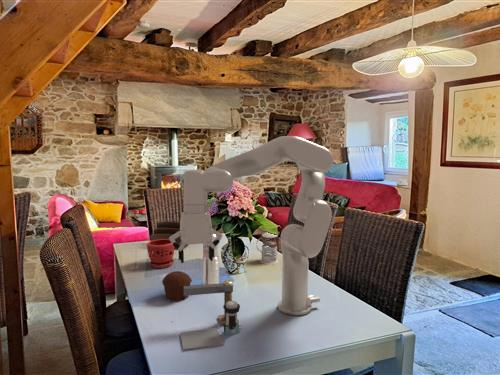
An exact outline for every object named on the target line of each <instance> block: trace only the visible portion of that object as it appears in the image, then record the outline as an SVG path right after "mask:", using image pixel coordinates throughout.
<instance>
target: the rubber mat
mask: <svg viewBox="0 0 500 375" xmlns="http://www.w3.org/2000/svg"><path fill="white" fill-rule="evenodd" d="M220 334H221V333H220V332H219V330H218V328H217V327H213V328H205V329H198V330H190V331H183V332H182V331H181V332H180V333H179V335H180V336H179V337H180V341H181V345H182V349H183V350H182V351H184V352H185V351H191V350H198V349H199V350H200V349H204V348H205V349H206V348H212V347H220V346H223V345H224V342H223V340H222V336H221V335H220Z"/></svg>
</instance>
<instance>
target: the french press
mask: <svg viewBox="0 0 500 375" xmlns="http://www.w3.org/2000/svg"><path fill="white" fill-rule="evenodd" d="M272 216H273V215H272V213H268V216H267V217H272ZM268 232H269V231H266V232H263V233H262V234H261V237H260V238H258V239H257V241H256V243H258V242H259V241H260V240H263V238H267V239H268V240H265V241H262V246H261V250H260V249H259V248H258V246H256V248H257V250H258V252H260V253H261V258H260V260H259V262H260V263H261V264H265V265H276V264H278V263H279V262H280V261H279V260H278V245H277V242H276V241H272V240H271V239H274V238H277V237H278V234H277V235H274V234H270V233H268Z"/></svg>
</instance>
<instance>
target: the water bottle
mask: <svg viewBox="0 0 500 375" xmlns="http://www.w3.org/2000/svg"><path fill="white" fill-rule="evenodd" d="M216 238H217V236H216V235H214V234H212V242H213V241H214V240H215V239H216ZM219 243H220V242H219ZM219 243H218V244H217V246H216V247H215V248H214V257H213V261H211V260H210V259H209V246H210V245H209V244H208V243H203V244H202V285H206V284H220V256H219V254H220V251H219V248H220V247H219Z"/></svg>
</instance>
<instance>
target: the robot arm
mask: <svg viewBox="0 0 500 375" xmlns="http://www.w3.org/2000/svg"><path fill="white" fill-rule="evenodd" d="M284 162H292V163H295V164H296V166H297V168H298V170H299V171H300V174H301V184H300V188H299V191H298V194H297V197H296V200H295V202H294V206H293V209H292V210H293V211H292V214H293V217H294V219H295V220H297V221H299V222H302V223H303V224H304V226H303V225H300V224H298V223H297V224H296V223H291V224H288V225H286V226H285V227H284V228H283V229H282V230H281V234H280V246H281V247H280V248H281V253H282V254H281V256H282V258H281V259H282V264H281V265H282V268H281V270H282V273H281V274H282V276H281V278H282V279H281V300H280V301H279V302H278V303H277V309H278V311H280V312H281V313H283V314H285V315H289V316H303V315H308V314H309V313H310V312H311V311H312V309H313V308H312V304H313V303H320V302H321V300H320V298H321V297H319V296H315V297H314V295H313V294H312V295H309V293H308V292H309V265H310V264H309V259H312V258H314V257H317V256H318V255H319V253H320V252H321V251H322V248H323V246H324V244H325V241H326V237H327V234H328V231H329V229H330V226H331V222H332V218H333V212H332V208H331V206H330V204H329V203H327V202H326V201H324V200H322V199H323V195H324V192H325V186H326V178H325V174H324V173H326V172H328V171H329V170H330V169H331V168H332V167H333V164H334V155H333V154H332V152H331V151H330V150H329V149H328V148H326V147H325V146H322V145H319V144H317V143H314V142H312V141H309V140H307V139H305V138H303V137H299V136H296V135H282V136H278V137H276V138H274V139H271V140H270V141H267V142H265V143H263V144H261V145H259V146H257V147H254V148H252V149H250V150H248V151H245V152H242V153H240V154H238V155H237V154H236V155H235V156H232V157H229V158H227V159H225V160H221V161H220V162H217V163H215V164H213V165H211V166H209V167H208V168H206V169H205V170H203V169H188V170H185V171H184V172H183V212H181V213H180V220H179V222H180V231H179V232H177V233H175V234H174V235H172V236H170V237H169V240H170V241H171V243H172V244H173V246H174V247H175V248H176V249H175V250H177V251H178V255H177V256H178V261H180V263H181V264H184V261H185V254H184V249H185V248H184V246H185V245H188V246H190V245H203V243H208V244H209V245H210V246H209V259H210V260H211V261H213V257H214V248H215V247H216V246H217V244H218V243H220V241H221V240H222V238H223V236H224V234H222V233H221V232H219V231H217V230H215V229H213V226H212V218H211V213H210V211H209V210H210V209H213V204H211V203H208V202H209V201H208V196H209V195H208V193H217V194H218V193H219V194H222V193H226V192H228V191H230V190H231V189H232V188H233V186H234V180H235V179H238V178H242V177H248V176H255V175H259V174H260V175H261V174H262V173H264V172H266V171H268V170H270V169H272V168H275V167H276V166H278V165H280V164H282V163H284ZM212 234H214V235H216V236H217V238H216V239H215V240H214V241H213V242H212ZM179 236H180V240H181V242H180V244H178V243H176V241H175V239H176V238H178V237H179ZM183 248H184V249H183Z"/></svg>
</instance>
